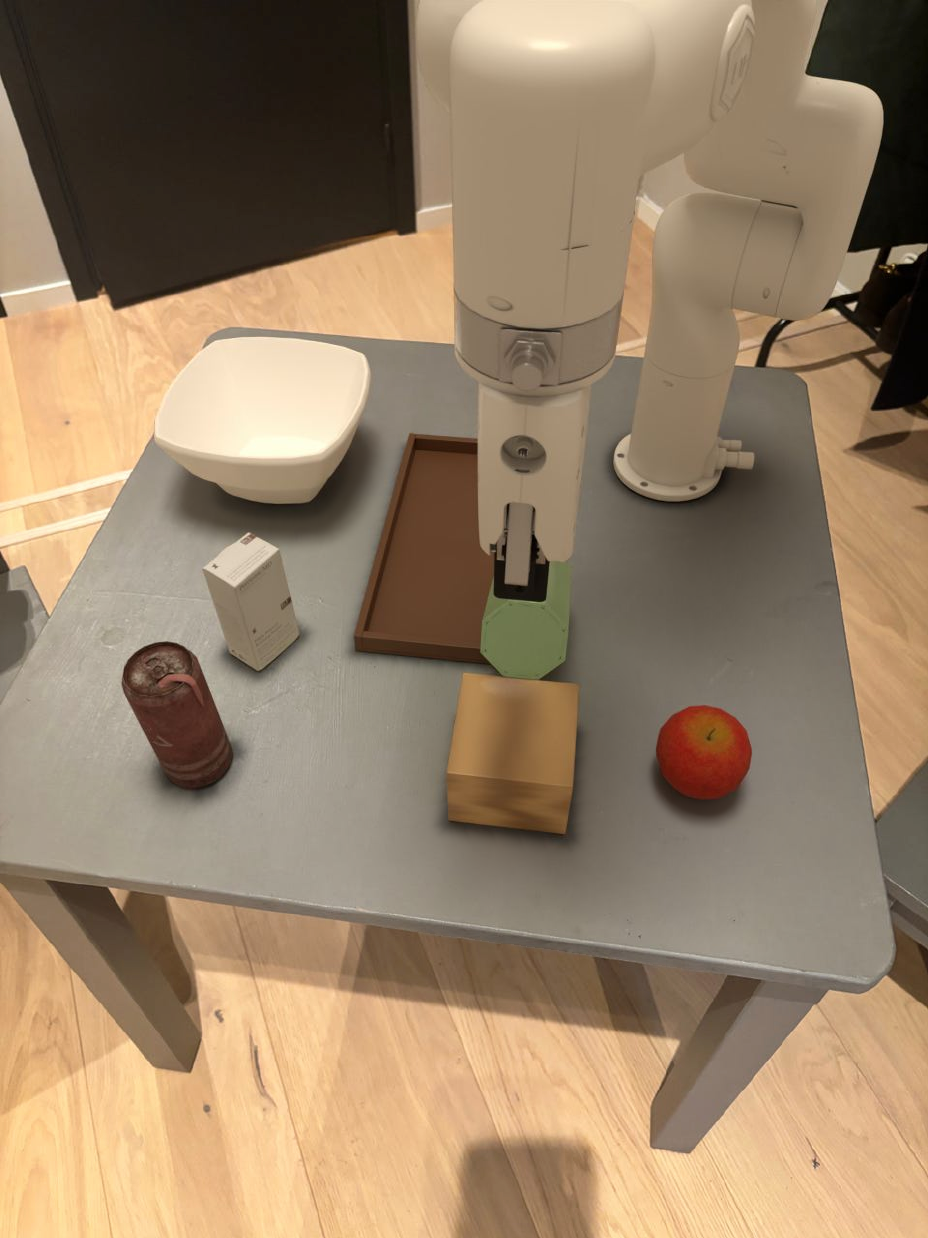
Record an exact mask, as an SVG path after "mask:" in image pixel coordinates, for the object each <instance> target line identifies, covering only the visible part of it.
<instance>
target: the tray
mask: <svg viewBox="0 0 928 1238" xmlns="http://www.w3.org/2000/svg"><path fill="white" fill-rule="evenodd" d="M385 516H386V517H385V521H384V524H383V528H382V531H381V534H380V538H379V543H378V546H377V550H376V553H375V555H374V559H373V563H372V568H371V571H370V575H369V579H368V582H367V586H366V589H365V592H364V597H363V601H362V603H361V609H360V611H359V614H358V618H357V622H356V626H355V630H354V633H353V640H354V646H355V651H357V652H367V653H376V654H387V655H395V656H396V655H397V656H407V657H418V658H426V659H436V660H445V661H446V660H447V661H456V662H466V663H476V664H485V665H486V664H487V665H492V664H491V663H490V662H489V661H488V660H487V659H486V658H485V657H484V656H483V655H482V654H481V652H480V648H481V632H482V620H483V616H484V612H485V608H486V604H487V600H488V596H489V592H490V588H491V584H492V580H493V576H494V552H491V555H488V554H487V553H486V552H485V551H484V550H483V549H482V548H481V546H480V539H479V517H478V438H474V437H461V436H447V435H435V434H423V433H408V437H407V440H406V444H405V447H404V451H403V455H402V459H401V462H400V465H399V470H398V473H397V477H396V482H395V484H394V488H393V491H392V495H391V498H390V502H389V506H388V509H387V513H386V515H385Z"/></svg>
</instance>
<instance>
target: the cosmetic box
mask: <svg viewBox="0 0 928 1238" xmlns="http://www.w3.org/2000/svg"><path fill="white" fill-rule="evenodd" d="M201 570H202V573H203V576H204V579H205V581H206V582H205V583H206V585H207V588H208V592H209V594H210V597H211V600H212V603H213V606H214V609H215V612H216V615H217V619H218V622H219V624H220V628H221V631H222V633H223V636H224V639H225V643H226V646H227V649H228V652H229V653H230V654H231V655H232V656H234V657H235V658H237V659H238V660H240V661H241V662H243V663H244V664H246V665H247V666H249V667H251V668H252V669H254V670H255V671H256V672H260V671H262V670H263V669H264V668H266V667H267V666H268V665H269V664H270V663H272V662H273V661H274V660H275V659H276V658H277V657H278V656H280V655H281V654H282V653H283V652H284V651H285V650H286V649H287V648H289V647H290V645H292V644H293V643H294V642H295V641H296V640H297V638H298V637H299V636H300V630H299V626H298V621H297V617H296V613H295V609H294V605H293V600H292V597H291V592H290V589H289V588H290V587H289V583H288V580H287V575H286V571H285V566H284V563H283V558H282V554H281V550H280V548H278V547H276V546H274V545H273V544H271V543H270V542H268V541H266V540H264V539H261V538H260V537H258V536H256V535H255V534H252V533H251V532H246V533H245V535H243V536H242V537H240V538H239V539H238V540H237V541H235V542H234V543H232V544H230V545H228V546H227V547H225V548H224V549H222V551H220V553H219V554H218V555H217V556H216V557H215V558H213V559H212V560H211V561H210V562H208V563H207V564H205V565H204V566H203V567H202V569H201Z"/></svg>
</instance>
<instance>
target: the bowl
mask: <svg viewBox="0 0 928 1238" xmlns="http://www.w3.org/2000/svg"><path fill="white" fill-rule="evenodd" d="M371 372H372V371H371V369H370V365H369V361H368V358H367V356H366V355H365V354H363V353H362V352H359V351H357V350H354V349H351V348H349V347H346V346H342V345H338V344H332V343H328V342H323V341H315V340H310V339H302V338H294V337H272V336H241V337H240V336H239V337H233V338H222V339H217V340H214V341H213V342H211V343H210V344H208V345H206V346H205V347H204V348H203V349H201V350H200V351H198V352H197V353H196V354H195V355H194V356H193V357H192V358H191V359H190V360H189V362H187V363H186V365H185V366H183V368H182V369H181V370H180V371H179V373H178V374H177V376H175V378H174V379H173V380H172V382H171V383H170V385H169V387H168V388H167V390H166V392H165V394H164V396H163V398H162V400H161V402H160V405H159V408H158V411H157V413H156V416H155V419H154V421H153V440H154V444H155V445H156V446H157V447H159V448H160V449H161V450H163V451H164V452H165V453H166V454H168V456H170V457H171V458H172V459H174V460H175V461H176V462H177V463H178V464H179V465H181V466H182V467H184V468H185V469H186V470H187V471H188V472H189V473H191V474H192V475H194V476H196V477H198V478H200V479H202V480H205V481H208V482H211V483H215V484H216V485H218V486H219V487H220V488H221V489H222V490H223V491H224V492H225V493H226V494H229V495H231V496H233V497H237V498H241V499H243V500H244V499H245V500H248V501H251V502H257V503H264V504H276V505H281V504H282V505H283V504H284V505H285V504H286V505H287V504H305V503H309V502H311V501H313V499H315V498H316V497H317V495H318V494H319V492H321V489H323V487H324V485H325V484H327V481H328V479H329V478H330V477H331V476H332V475H333V474H334V472H335V471H336V469H337V468H338V467H339V465H340V464H341V462H342V461H343V459H344V458H345V456H346V454H347V452H348V450H349V449H350V446H351V444H352V441H353V439H354V436H355V435H356V432H357V429H358V427H359V424H360V422H361V419H362V418H363V415H364V413H365V410H366V407H367V403H368V398H369V396H370V391H371V382H372V373H371Z"/></svg>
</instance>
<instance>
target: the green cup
mask: <svg viewBox="0 0 928 1238" xmlns="http://www.w3.org/2000/svg"><path fill="white" fill-rule="evenodd" d="M572 572H573V567H572V564H570V562H569V561H568V559H567V560H566V561H565V562H559V561H550V566H549V576H548V586H547V597H546V600H545V601H544V602H532V601H521V600H511V599H500V598H497V597H495V596H494V594H493V590H494V576H493V580H492V584H491V588H490V592H489V596H488V600H487V604H486V608H485V612H484V616H483V620H482V632H481V648H480V652H481V654H482V655H483V656H484V657H485V658H486V659H487V660H488V661H489V662H490V663H491V664H490V665H492V666H493V667H494V668H495V670H497V672H499V674H500V675H501V676H502V677H512V678H522V679H531V680H540V679H542V678H544V677H545V676H546V675H547V674H549V673H550V672H551V671H553V670H555V669H556V668H558V667H559V666H560V665H561V664H563V663H564V662H565V661H566V659H567V658H566V657H567V649H568V639H569V629H570V612H571V611H570V609H571V591H572Z"/></svg>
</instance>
